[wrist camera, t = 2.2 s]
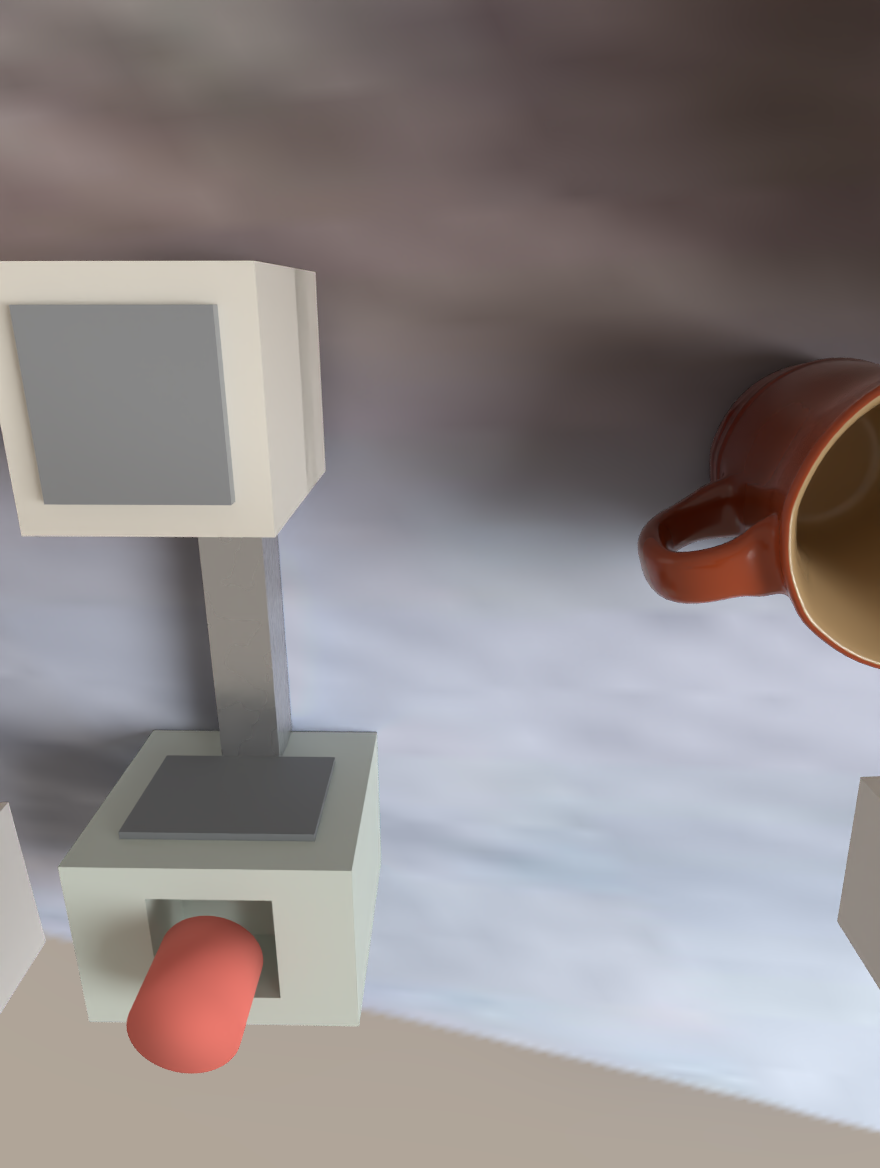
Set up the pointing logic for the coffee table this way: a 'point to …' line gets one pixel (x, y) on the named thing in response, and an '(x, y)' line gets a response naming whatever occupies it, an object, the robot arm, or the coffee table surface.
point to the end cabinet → (234, 869)
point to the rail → (247, 643)
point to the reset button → (196, 995)
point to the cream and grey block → (159, 396)
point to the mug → (787, 506)
